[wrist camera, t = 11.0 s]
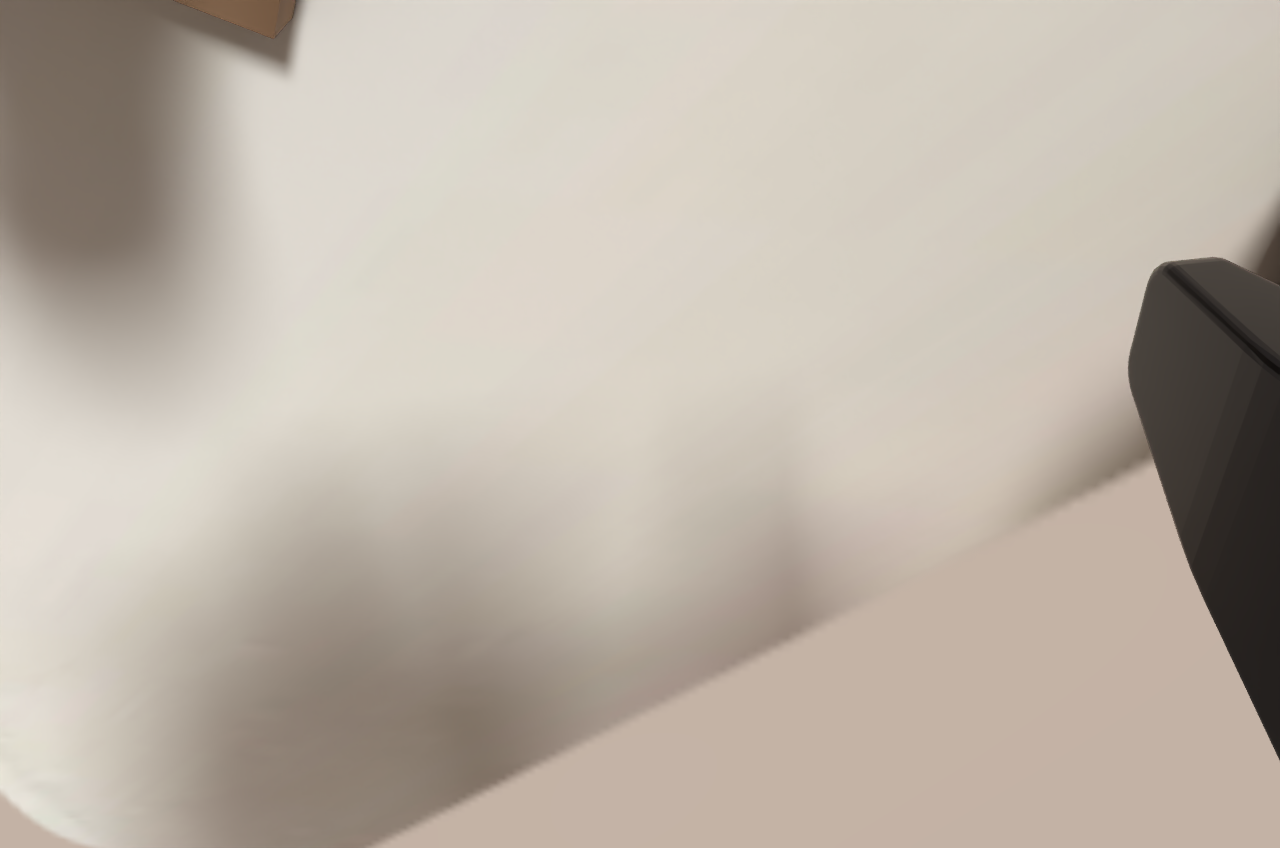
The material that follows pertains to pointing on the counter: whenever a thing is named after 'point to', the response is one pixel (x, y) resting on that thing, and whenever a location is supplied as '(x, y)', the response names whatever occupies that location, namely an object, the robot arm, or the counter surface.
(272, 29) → the pin board
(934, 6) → the counter surface
